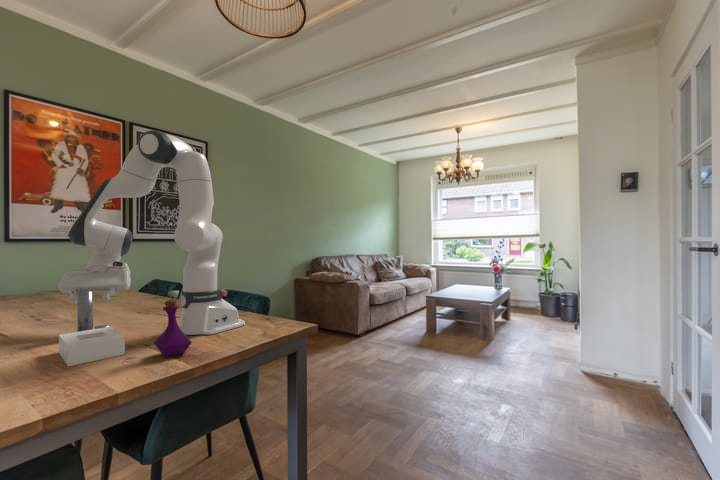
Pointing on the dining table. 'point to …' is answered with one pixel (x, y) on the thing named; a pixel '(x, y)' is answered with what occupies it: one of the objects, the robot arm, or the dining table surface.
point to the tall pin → (84, 310)
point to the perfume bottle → (172, 332)
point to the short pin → (102, 326)
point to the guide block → (91, 345)
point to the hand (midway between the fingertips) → (89, 300)
